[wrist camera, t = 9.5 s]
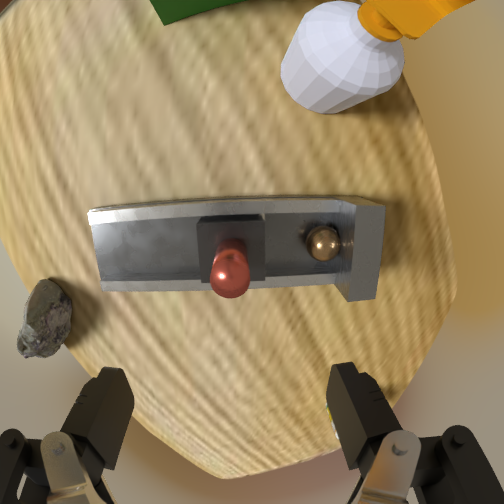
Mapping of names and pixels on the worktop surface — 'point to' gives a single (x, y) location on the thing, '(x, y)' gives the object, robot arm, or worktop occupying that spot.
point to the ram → (231, 252)
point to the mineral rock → (44, 321)
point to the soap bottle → (354, 49)
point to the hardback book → (185, 8)
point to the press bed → (276, 242)
